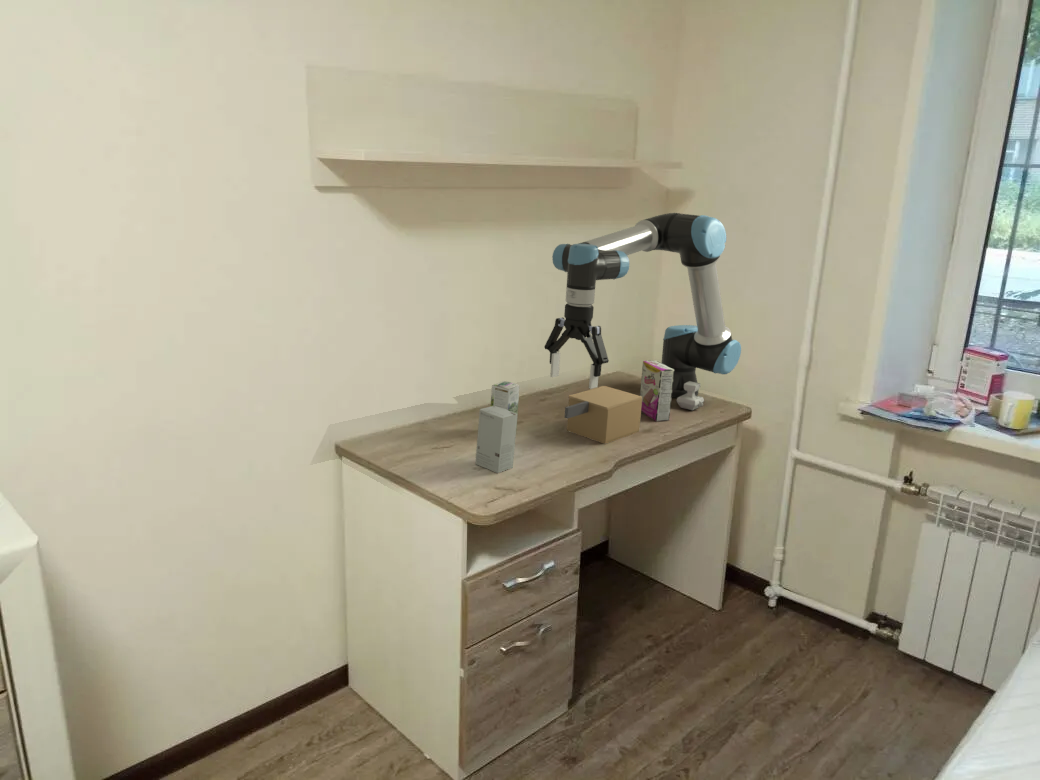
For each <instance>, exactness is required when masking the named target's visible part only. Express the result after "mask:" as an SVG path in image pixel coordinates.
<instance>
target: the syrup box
mask: <svg viewBox="0 0 1040 780" xmlns="http://www.w3.org/2000/svg"><path fill="white" fill-rule="evenodd" d="M490 397H491V398H490V400H491V401H490V407H491V406H497V407H500V408H503V409H506V410H508V411H511V412H513V413H516V414H519V413H518V412H519V398H520V384H517V383H515V382H511V381H507V380H506V381H505V380H502V381H500V382H498V383H494V384H493V385H491V395H490ZM517 430H518V429H517V427H516V431H517Z"/></svg>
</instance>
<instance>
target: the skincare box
mask: <svg viewBox="0 0 1040 780" xmlns="http://www.w3.org/2000/svg"><path fill="white" fill-rule="evenodd" d="M478 414H479V415H478V416H479V417H478V426H477V427H478V428H477V439H476V449H475V452H476V453H475V465H476V466H479V467H482V468H484V469H487V470H489V471H492V472H494V473H496V474H500V473H503V472H506V471H508V470H507V469H509V470H511V469H513V467H514V457H515V456H514V455H515V445H516V438H517V437H516V436H517V430H516V427H517V426H518V416H519V415H518V414H519V413H518V414H516V413H513V412H511V411H508V410H506V409H503V408H500V407H497V406H491V405H490V406H488V407H484V408H480V409H479V413H478ZM510 468H511V469H510ZM505 470H506V471H505ZM502 471H503V472H502ZM499 472H500V473H499Z"/></svg>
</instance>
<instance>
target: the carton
mask: <svg viewBox="0 0 1040 780" xmlns="http://www.w3.org/2000/svg"><path fill="white" fill-rule="evenodd" d="M578 403H581V401H578V400H575V399H571V398H569V397H568V406H571V405H574V404H578ZM641 407H642V399H639V400H636V401H633V402H630V403H627V404H624V405H620V406H617V407H614V408H611V409H608V410H607V409H603V408H600V407H597V406H594V405H591V404H589V408H588V412H587V413H584V414H581V415H577V416H574V417H571V418H568V419H567V422H566V424H567V425H566V432H569V431H570V433H572V432H573V433H572V434H575V433H576V434H575V435H578V436H581V437H583V436H584V437H583V438H586V437H587V438H586V439H589V438H590V440H592V439H593V441H595V440H596V441H595V442H598V441H599V443H601V444H604V443H605V444H604V445H606V443H607V444H609V442H610V443H612V441H613V442H615V441H617V440H621V439H623V437H624V438H626V437H629V436H632V435H634V434H637V433H640V427H641V418H642V417H641V416H642V412H641ZM620 438H621V439H620Z"/></svg>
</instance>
